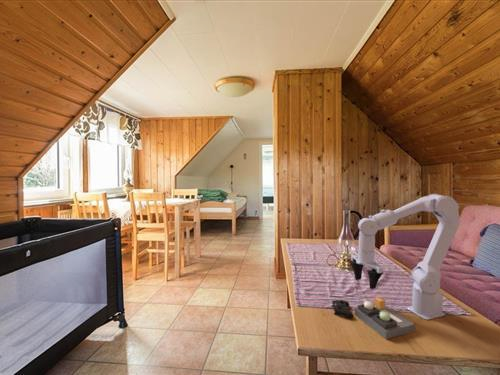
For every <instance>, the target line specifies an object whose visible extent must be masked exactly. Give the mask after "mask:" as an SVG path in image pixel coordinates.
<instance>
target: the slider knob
mask: <svg viewBox="0 0 500 375" xmlns="http://www.w3.org/2000/svg"><path fill="white" fill-rule="evenodd" d="M374 304H375V307H377V308H378V309H384V308H385V305H386V299H384V298H382V297H380V296H378V297H375V298H374Z"/></svg>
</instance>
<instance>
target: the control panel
mask: <svg viewBox="0 0 500 375" xmlns="http://www.w3.org/2000/svg"><path fill="white" fill-rule="evenodd" d="M380 312H387V313H389V314H390V322H384V321H381V320H380ZM354 316H356V317H357V318H358V319H360V321H362V322H364V323H365V324H366V325H367V326H368V327H370V328H371V329H372V330H374V332H376V333H377V334H379V335H380V336H381V337H383V339H385V340H388V339H392V338H395V337H399V336H403V335H407V334H411V333H414V332H415V333H416V324H415V322H412V321H411V320H409V319H408V318H406V317H404V316H403V315H402V314H400V313H398V312H397V311H395V310H393V309H392V308H390V307H388V306H387V305H386V304H385V308H384V309H378V308H377V307H375V303H373V310H371V311H370V310H366V309H365V308H364V303H362V304H357V307H354Z"/></svg>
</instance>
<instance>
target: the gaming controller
mask: <svg viewBox="0 0 500 375" xmlns="http://www.w3.org/2000/svg"><path fill="white" fill-rule="evenodd" d="M331 303H332V307H333V311H334V313H333V314H334V315H335V316H342V317H344V318H346V319H348V320H349V319H350V320H352V319H354V317H355V314H354V313H353V312H352V311H351V310H350V309H349V308H348V307H350V303H349V302H348V301H347V300H343V299H335V300H332V302H331Z"/></svg>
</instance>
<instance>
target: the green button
mask: <svg viewBox="0 0 500 375" xmlns="http://www.w3.org/2000/svg"><path fill="white" fill-rule="evenodd" d="M380 320H381V321H384V322H390V314H389V313H387V312H380Z"/></svg>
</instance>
